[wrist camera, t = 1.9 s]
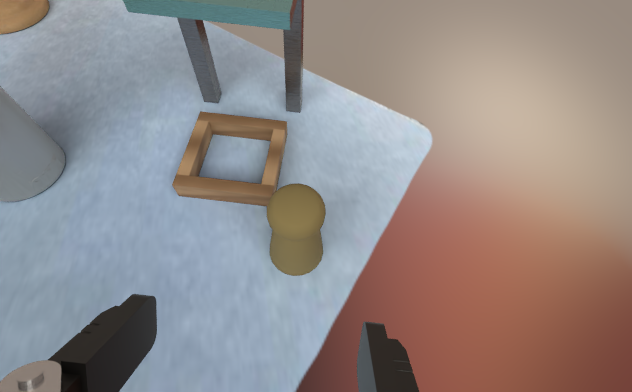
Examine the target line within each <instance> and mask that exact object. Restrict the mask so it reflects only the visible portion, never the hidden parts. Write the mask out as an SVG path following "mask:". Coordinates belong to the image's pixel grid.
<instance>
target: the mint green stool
mask: <svg viewBox="0 0 632 392" xmlns="http://www.w3.org/2000/svg"><path fill="white" fill-rule="evenodd" d="M123 1H124V3H125V6H126V8H127V10H128V12H133V13H142V14H151V15H160V16H169V17H177V18H178V22H179V25H180V28H181V31H182V34H183V37H184V40H185V43H186V46H187V49H188V53H189V56H190V59H191V62H192V65H193V68H194V71H195V74H196V77H197V80H198V83H199V87H200V90H201V93H202V96H203V99H204V102H212V103H218V102H219V99H220V96H221V90H220V86H219V82H218V78H217V74H216V70H215V66H214V62H213V59H212V55H211V51H210V47H209V43H208V39H207V35H206V31H205V27H204V23H203V20H205V21H214V22H223V23H231V24H240V25H250V26H259V27H267V28H277V29H283V30H284V57H285V84H286V111H291V112H299V113H300V111H301V105H302V74H303V19H304V18H303V17H304V0H123Z"/></svg>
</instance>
